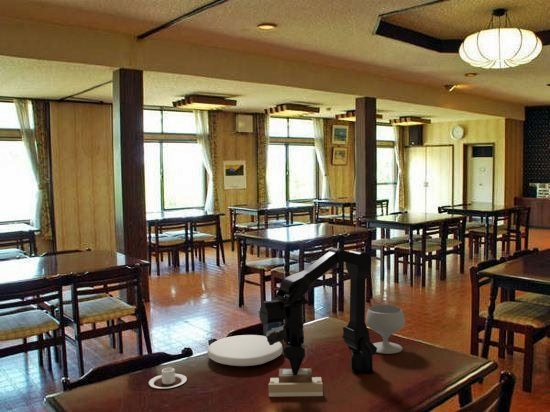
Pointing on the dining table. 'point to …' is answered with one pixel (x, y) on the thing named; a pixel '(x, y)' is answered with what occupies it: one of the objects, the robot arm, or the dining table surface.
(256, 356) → the white thick flat disc
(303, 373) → the frame
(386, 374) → the dining table surface
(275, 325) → the soda can
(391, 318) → the chalice
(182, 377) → the candle holder
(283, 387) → the wall board
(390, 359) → the dining table surface
